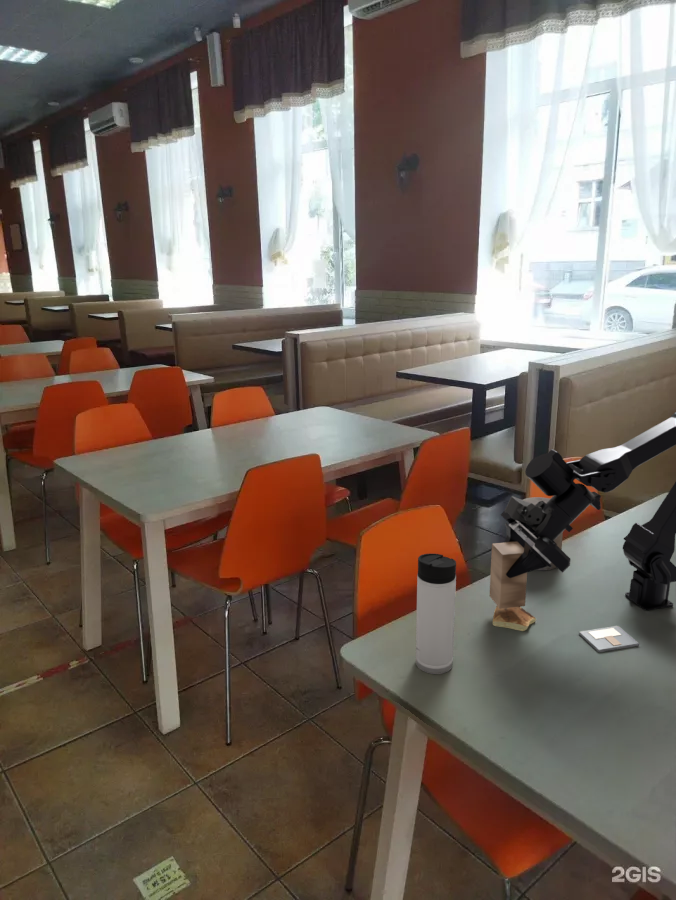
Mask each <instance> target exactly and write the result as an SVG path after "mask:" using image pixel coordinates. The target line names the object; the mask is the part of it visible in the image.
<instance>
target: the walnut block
mask: <svg viewBox="0 0 676 900" xmlns="http://www.w3.org/2000/svg"><path fill="white" fill-rule="evenodd" d="M523 552H524V548H523V547H522V546H521V545H520V544H519V543H518V542H517V541H515V542H505V541H504V542H494V543H491V557H490V559H491V561H490V574H489V575H490V576H489V577H490V578H489V597H490V598H491V600H492V601H493V602H494V604H495V605H496V606H498V607H499V609H503V608H512V607H521V608H522V607H525V606H526V597H527V581H528V579H527V578H528V572H527V573H524V574H521V575H518V576H515V577H512V578H509V577H508V576H507V575H506V573H507V572H508V570H509V569H510V568H511V566H512V565H513V564H514V563H515V562H516V561H517V559H518V558H519V557H520V556H521V555H522V554H523Z"/></svg>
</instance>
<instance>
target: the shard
mask: <svg viewBox="0 0 676 900" xmlns="http://www.w3.org/2000/svg"><path fill="white" fill-rule="evenodd" d="M536 621H537V619H536V617H535V616H534V615H532V614H531V613H530V612H528V611H526V609H525V608H523V607H522V606H521V607H512V608H503V609H499V607H498V606H497V605H496V606H495V609H494V612H493V618H492V626H495V627H500V628H504V629H505V628H506V629H512V630H516V631H521V632H525V631H526V630H528V628H529V626H530V625H533V624H534V623H535V622H536Z"/></svg>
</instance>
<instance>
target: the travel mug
mask: <svg viewBox="0 0 676 900" xmlns="http://www.w3.org/2000/svg"><path fill="white" fill-rule="evenodd" d="M456 571H457V561H456V560H455V559H453V558H450V557H449V556H448V557H447V556H444V554H439V553H424V554H421V555H419V556H418V557H417V574H416V575H417V576H416V578H417V579H416V581H417V583H416V584H417V585H416V630H415V631H416V633H415V634H416V635H415V636H416V637H415V638H416V639H415V665H416V666H417V668H418V669H420V670H421V671H423V672H424V673H427V674H432V675H442V674H445V673H448V672H449V671H450V670H451V669H452V668H453V663H454V640H455V619H456V618H455V614H456V613H455V612H456V593H457V592H456V590H457V589H456V587H457V586H456V585H457V581H456V580H457V573H456Z"/></svg>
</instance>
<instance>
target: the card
mask: <svg viewBox="0 0 676 900" xmlns="http://www.w3.org/2000/svg"><path fill="white" fill-rule="evenodd" d="M578 634H579V636H580V637H582V639H584V640H585V641H586V642H587V643H588V644H589V645H590V646H591V647H592V648H593V649H595V650H596V651H597V653H603V652H604V653H605V652H609V651H613V650H614V651H615V650H621V649H627V648H628V649H629V648H632V647H639V646H640V643H639V642H638V641H637V640H636V639H635V638H634V637H632V636H631V634H629V633H628V632H626V631H625V630H624V629H623V628H622V627H620V626H619V625H613V626H612V625H611V626H607V627H600V628H599V627H598V628H594V629H588V630H581V631H578Z"/></svg>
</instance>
